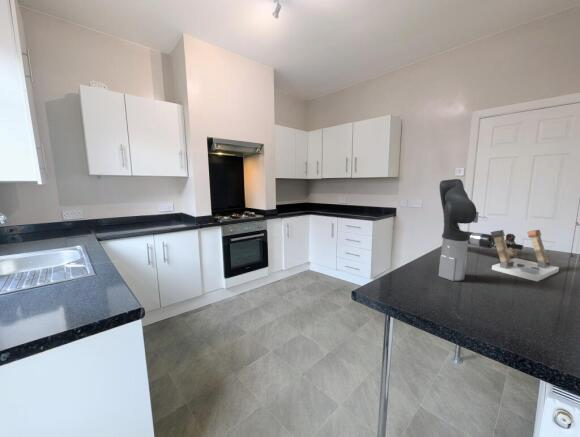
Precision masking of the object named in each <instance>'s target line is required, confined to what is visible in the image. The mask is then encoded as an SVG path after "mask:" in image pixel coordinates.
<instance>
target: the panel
mask: <svg viewBox="0 0 580 437" xmlns="http://www.w3.org/2000/svg"><path fill="white" fill-rule="evenodd" d="M510 259H511V265H510V266H507V265H508V264H506V263H502V262H501V261H500V263H499V262H498V263H495V264H493V265H492V266H491V270H492V271H495V272H499V273H503V274H507V275H511V276H516V277H519V278H522V279H526V280H530V281H534V282H540V281H541V280H544V279H546V278H549V277H550V276H552V275H554V274H557V273H559V269H560V266H559V267H558V266H555V265H551V263H552V261H551V260H548V261H549V262H548V265H546V263H541V262H538V261H537V262H535V261H531V260H527V259H521V258H517V257H514V258H510ZM545 265H546V266H545Z"/></svg>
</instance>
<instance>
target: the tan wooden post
mask: <svg viewBox="0 0 580 437" xmlns="http://www.w3.org/2000/svg"><path fill="white" fill-rule="evenodd" d="M490 235H492V238H494V241H495V244H496V251H497V253H498V257H499V261H500V263H501V262H502V263H506V264H508V265H507V266H510V265H511V259H512V258H511V256H510V255H509V252H508V249H507V245H506V242H505V240H506V238H505V237H506V235H505V232H504V229H502V230H493V231H490Z"/></svg>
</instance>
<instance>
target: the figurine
mask: <svg viewBox="0 0 580 437" xmlns="http://www.w3.org/2000/svg"><path fill="white" fill-rule="evenodd" d="M515 239H516V236H515V234H513V233H507V234H506V235H505V240H508V241H511V242H514V244H517V243H516V241H515ZM507 249H508V252H509V255H510V257H512V256H513V257H516V256H518V255H517V254H518V252H517V250H518V249H514V248H507Z"/></svg>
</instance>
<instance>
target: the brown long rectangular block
mask: <svg viewBox="0 0 580 437" xmlns="http://www.w3.org/2000/svg"><path fill="white" fill-rule="evenodd" d="M526 233H527V236H528V238H530V241H531V243H532V244H531V245H532V247H533V250H534V253H535V257H536V260H537V263H538V262H541V263H546V265H548V262H549V261H550V260H549V258H548V255H547V252H546V250H545V249H546V248H545V247H544V246H545V245H544V243H543V240H542V238H541V236H542V233H541V230H540V229H536V230H535V229H534V230H529V231H526ZM546 265H545V266H546Z"/></svg>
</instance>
